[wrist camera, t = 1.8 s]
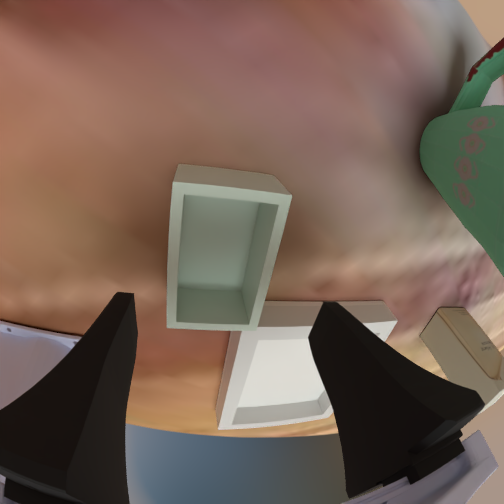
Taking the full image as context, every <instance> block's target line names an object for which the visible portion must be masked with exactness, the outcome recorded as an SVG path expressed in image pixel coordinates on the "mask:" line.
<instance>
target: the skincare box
mask: <svg viewBox="0 0 504 504" xmlns="http://www.w3.org/2000/svg"><path fill="white" fill-rule="evenodd" d="M420 337H421V338H422V340H423V341H424V343H425V344H426V346H427V347H428V349H429V350H430V352H431V353H432V355H433V356H434V358H435V359H436V361H437V362H438V364H439V365H440V367H441V368H442V370H443V372H444V373H445V375H446V376H447V378H448V380H449V381H450V382H452V383H454V384H457V385H460V386H463V387H466V388H469V389H472V390H476V391H477V392H478V394H479V395H480V397H481V398H482V400H483V401H484V403H485V406H484V408H483V409H482V410H481V411H480V412H479V413H481V412H483V411H484V410H485V409H487V408H488V407H490V406H491V405H493V404H494V403H495V402H496V401H497V400H498V399H499V398H500V397H501V396H502V395H503V394H504V357H503V356H502V355H501V353H500V352H499V351H498V349H497V348H496V346H495V345H494V344H493V343H492V341H491V340H490V339H489V337H488V336H487V335H486V334H485V332H484V331H483V330H482V328H481V327H480V326H479V325H478V324H477V322H476V321H475V320H474V319H473V317H472V316H471V315H470V314H469V313H468V312H467V310H466V309H465V308H439V309H438V310H437V312H436V313H435V315H434V316H433V318H432V319H431V321H430V322H429V324H428V325H427V326H426V328H425V329H424V331H423V332H422V333H421V335H420ZM479 413H478V414H479ZM478 414H477V415H478ZM477 415H476V416H477Z"/></svg>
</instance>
